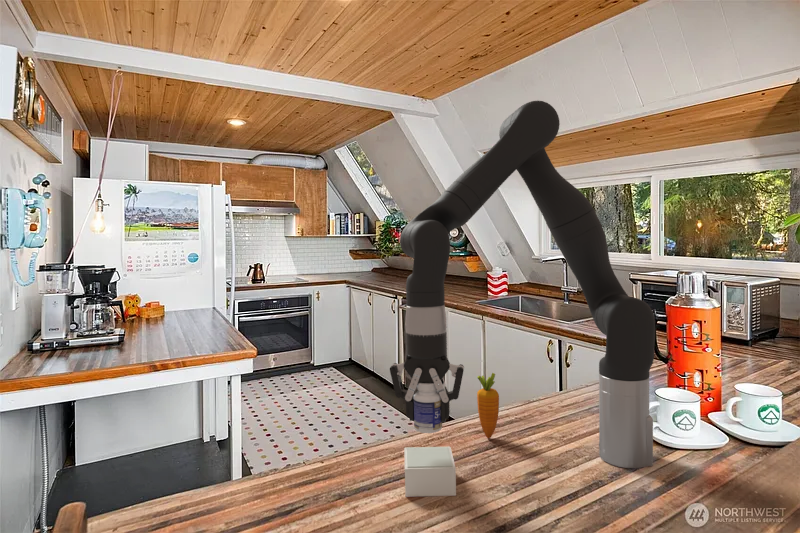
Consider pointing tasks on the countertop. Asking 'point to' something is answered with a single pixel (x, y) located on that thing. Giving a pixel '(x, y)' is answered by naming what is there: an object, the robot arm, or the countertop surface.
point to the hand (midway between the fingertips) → (427, 419)
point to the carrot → (488, 405)
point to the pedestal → (429, 471)
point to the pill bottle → (427, 408)
